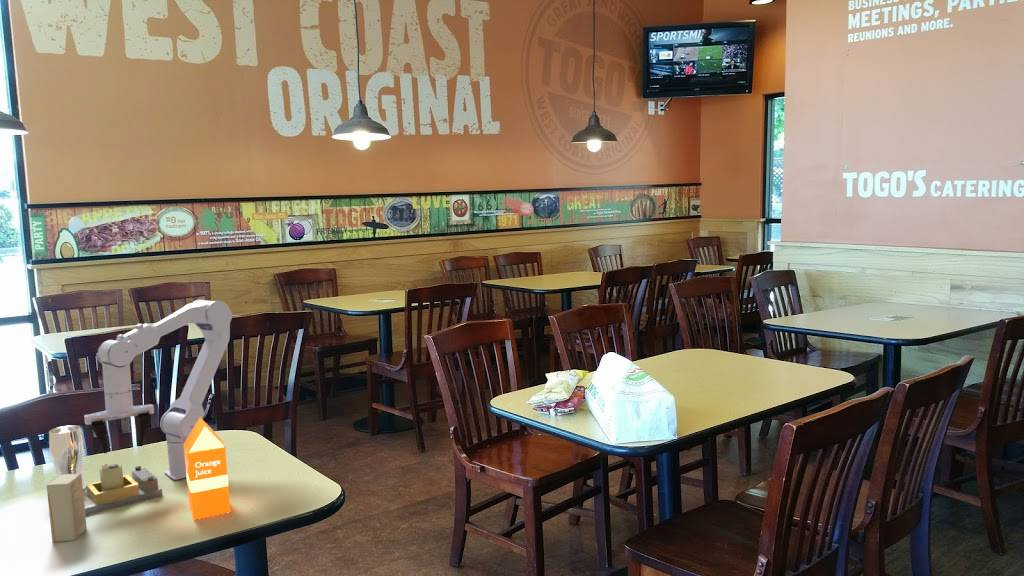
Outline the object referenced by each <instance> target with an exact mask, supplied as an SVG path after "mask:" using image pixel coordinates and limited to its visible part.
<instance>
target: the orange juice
mask: <svg viewBox="0 0 1024 576" xmlns="http://www.w3.org/2000/svg"><path fill="white" fill-rule="evenodd" d="M203 419H204V418H203ZM203 419H202V418H201V417H200V418H199V420H198V421H197V423H196V425H195V426H194V428H193V430H192V431H191V433H190V435H189V436H188V438H187V440H186V441H185V443H184V452H185V464H186V485H187V486H186V487H187V495H188V506H189V510H191V511H190V514H191V516H192V519H193V521H197V520H196V519H198V520H202V519H201V518H203V519H206V518H205V517H207V518H211V517H210V516H212V517H216V516H215V515H217V516H220V515H219V514H222V515H224V514H223V513H227V512H231V501H230V491H229V488H230V487H229V475H228V467H227V456H226V445H225V444H224V442H223V441H222V439H221V437H220V436H219V435H218V434H217V433H216V432H215V431H214V430H213V429H212V427H210V425H208V423H207V422H205V421H204V420H203ZM227 514H228V513H227Z"/></svg>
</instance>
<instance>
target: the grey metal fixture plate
mask: <svg viewBox="0 0 1024 576" xmlns="http://www.w3.org/2000/svg"><path fill="white" fill-rule="evenodd" d="M158 480H159V479H158V477H157V476H156V475H154V474H153V472H150V471H149V470H148V469H147V468H146V467H144V468H142V467H141V465H137V466H135V468H134V470H131V476H130V475H129V474H125V475H124V474H123V482H124V486H123V487H119V488H115V489H111V490H107V491H103V492H102V489H101V480H100V481H94V482H91V483H85V486H86V488H85V491H84V490H83V496H84V506H85V516H87V515H91V514H95V513H99V512H104V511H106V510H111V509H115V508H118V507H121V506H126V505H131V504H134V503H137V502H139V503H140V502H142V501H146V500H150V499H153V498H156V497H157V498H158V497H162V496H163V490H162V487H160V486H159V483H158V482H159V481H158Z"/></svg>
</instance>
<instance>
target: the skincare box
mask: <svg viewBox="0 0 1024 576" xmlns="http://www.w3.org/2000/svg"><path fill="white" fill-rule="evenodd" d="M46 491H47V503H48V515H49V522H50V523H49V524H50V531H51V540H52V541H51V542H52V543H55V542H56V543H59V542H72V541H73V542H74V541H75V540H76V539H77V538H78V537H79V536H81V535H82V533H83V532H85V530H87V518H86V515H85V506H84V496H83V492H84V490H83V486H82V476H81V473H77V474H60V475H59V476H57V475H56V477H55V478H53V479H52V480H51V481H50V482H48V483H47V484H46Z"/></svg>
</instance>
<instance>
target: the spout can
mask: <svg viewBox="0 0 1024 576" xmlns="http://www.w3.org/2000/svg"><path fill="white" fill-rule="evenodd" d="M123 473H124V472H123V465H122V464H119V463H114V464H110V465H108V464H107V463H106V464H105V463H104V464H102V465H101V468H99V477H100V478H99V479H100V481H101V489H102V492H103V491H107V490H111V489H115V488H119V487H123V486H124V482H123V476H124V474H123Z"/></svg>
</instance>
